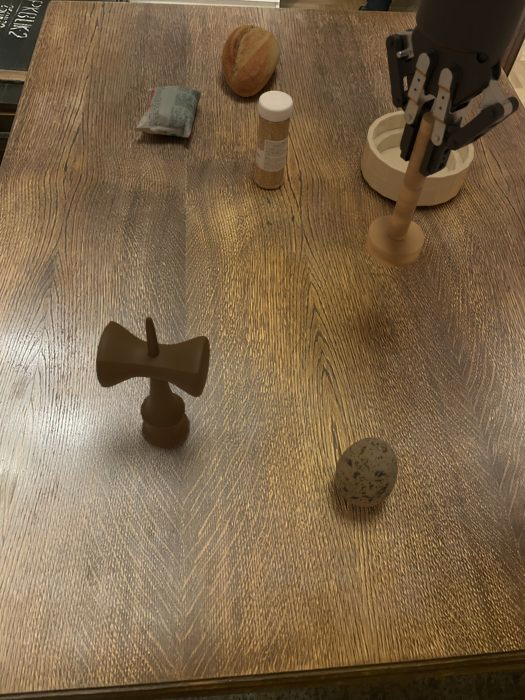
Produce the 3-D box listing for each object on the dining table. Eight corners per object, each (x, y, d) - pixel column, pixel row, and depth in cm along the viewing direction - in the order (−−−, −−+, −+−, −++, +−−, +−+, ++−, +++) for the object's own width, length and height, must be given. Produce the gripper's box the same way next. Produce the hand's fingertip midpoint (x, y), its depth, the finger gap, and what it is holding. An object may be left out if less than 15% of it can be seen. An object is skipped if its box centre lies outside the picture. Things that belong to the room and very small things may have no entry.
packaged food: (135, 143, 94) (132, 115, 90) (150, 99, 101) (148, 71, 97) (191, 149, 94) (190, 121, 90) (202, 105, 101) (202, 77, 97)
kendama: (129, 400, 68) (100, 282, 51) (214, 412, 68) (212, 297, 51) (115, 448, 64) (79, 339, 48) (205, 461, 64) (199, 355, 48)
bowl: (446, 143, 98) (457, 110, 94) (472, 209, 90) (487, 176, 85) (352, 143, 97) (359, 110, 92) (370, 210, 88) (378, 177, 83)
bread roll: (212, 97, 102) (212, 51, 95) (232, 52, 110) (233, 7, 104) (268, 107, 101) (271, 61, 95) (284, 60, 110) (288, 15, 103)
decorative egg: (347, 452, 66) (366, 407, 58) (396, 483, 64) (422, 441, 56) (319, 495, 63) (334, 453, 55) (369, 528, 61) (392, 490, 53)
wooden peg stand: (412, 227, 68) (458, 98, 55) (425, 267, 65) (476, 139, 52) (360, 228, 68) (393, 98, 54) (370, 268, 64) (408, 139, 51)
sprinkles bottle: (254, 170, 92) (259, 88, 81) (284, 171, 92) (292, 90, 81) (253, 190, 89) (258, 108, 78) (284, 191, 89) (293, 110, 78)
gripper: (595, -7, 41) (500, 192, 55) (452, -83, 47) (399, 114, 62) (522, 21, 38) (442, 223, 53) (380, -64, 45) (342, 138, 59)
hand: (419, 163), depth 57 cm, fingers closed on wooden peg stand
